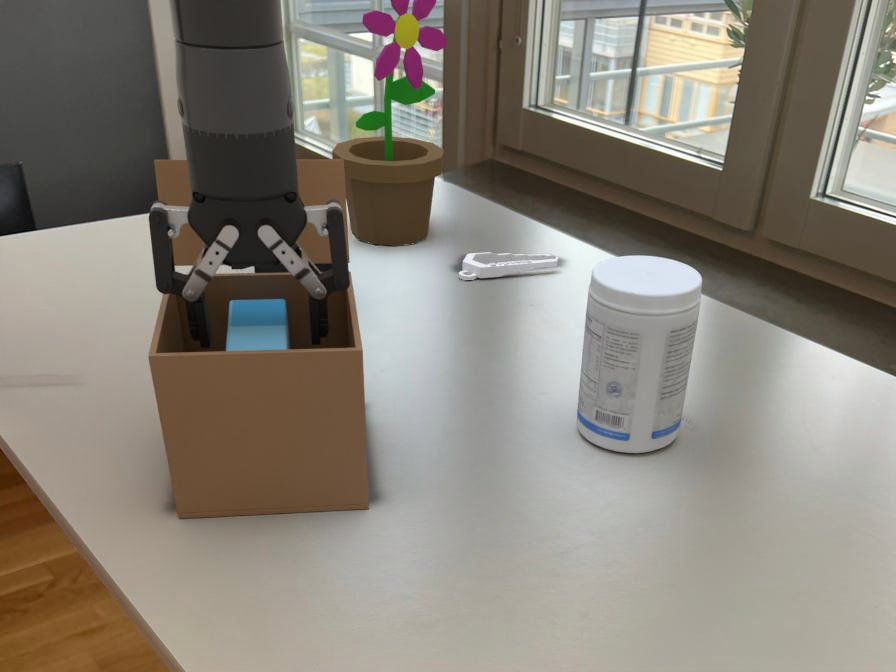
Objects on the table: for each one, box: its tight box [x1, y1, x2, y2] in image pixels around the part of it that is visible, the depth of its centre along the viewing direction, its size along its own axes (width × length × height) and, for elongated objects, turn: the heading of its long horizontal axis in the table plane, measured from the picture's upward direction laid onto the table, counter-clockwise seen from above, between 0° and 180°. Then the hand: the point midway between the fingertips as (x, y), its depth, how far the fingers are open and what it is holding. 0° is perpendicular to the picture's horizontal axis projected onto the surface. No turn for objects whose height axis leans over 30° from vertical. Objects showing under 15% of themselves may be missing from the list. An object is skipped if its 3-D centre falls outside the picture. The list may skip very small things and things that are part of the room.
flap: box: [153, 159, 351, 267], centre depth 81 cm, size 15×8×1 cm
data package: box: [226, 299, 290, 351], centre depth 81 cm, size 12×4×12 cm, turn 9°
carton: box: [147, 270, 370, 519], centre depth 81 cm, size 15×16×14 cm
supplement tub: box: [576, 255, 703, 454], centre depth 87 cm, size 10×10×15 cm
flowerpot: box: [331, 0, 448, 246], centre depth 123 cm, size 14×14×30 cm
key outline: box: [458, 251, 559, 281], centre depth 123 cm, size 13×5×2 cm, turn 109°
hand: (261, 342), depth 78 cm, fingers open, 8 cm apart
